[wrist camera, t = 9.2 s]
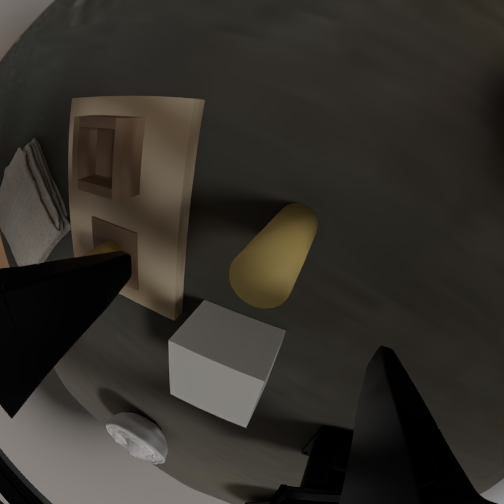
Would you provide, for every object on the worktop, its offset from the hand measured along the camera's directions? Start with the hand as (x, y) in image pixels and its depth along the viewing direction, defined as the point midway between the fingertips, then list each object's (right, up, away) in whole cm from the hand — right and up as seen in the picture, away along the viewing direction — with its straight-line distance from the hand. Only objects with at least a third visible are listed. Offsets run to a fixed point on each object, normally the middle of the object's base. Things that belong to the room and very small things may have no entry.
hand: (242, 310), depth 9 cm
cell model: (-16, -25, +28) cm, 40 cm away
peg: (+3, +4, +7) cm, 9 cm away
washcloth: (-26, +7, +18) cm, 33 cm away
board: (-9, +6, +11) cm, 16 cm away
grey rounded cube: (-1, -5, +13) cm, 14 cm away
